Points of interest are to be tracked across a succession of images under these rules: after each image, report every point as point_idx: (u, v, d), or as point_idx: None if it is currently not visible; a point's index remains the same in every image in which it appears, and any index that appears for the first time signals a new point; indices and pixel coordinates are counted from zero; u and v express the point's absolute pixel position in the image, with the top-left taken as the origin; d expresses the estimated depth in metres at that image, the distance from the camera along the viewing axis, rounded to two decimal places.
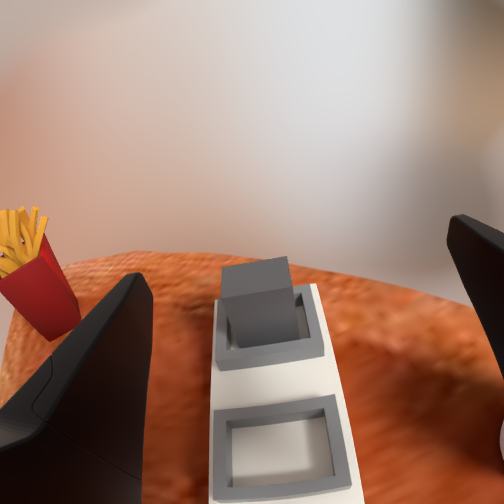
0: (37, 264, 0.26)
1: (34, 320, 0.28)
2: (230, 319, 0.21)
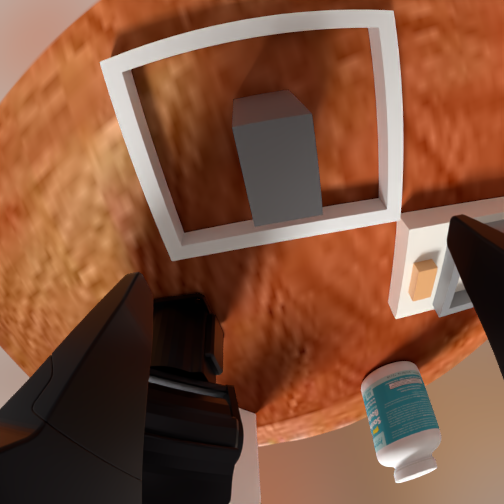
0: None
1: None
2: None
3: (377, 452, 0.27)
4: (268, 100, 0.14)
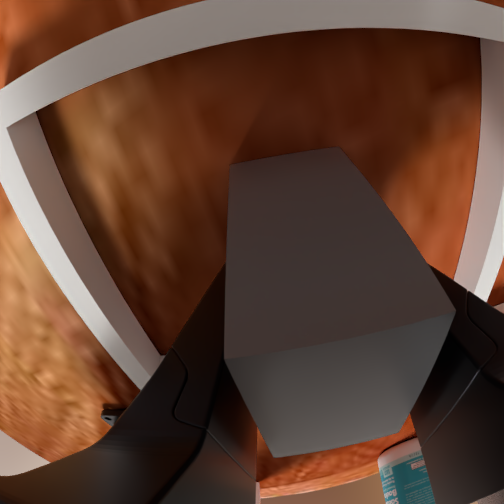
0: None
1: None
2: None
3: None
4: (309, 189, 0.07)
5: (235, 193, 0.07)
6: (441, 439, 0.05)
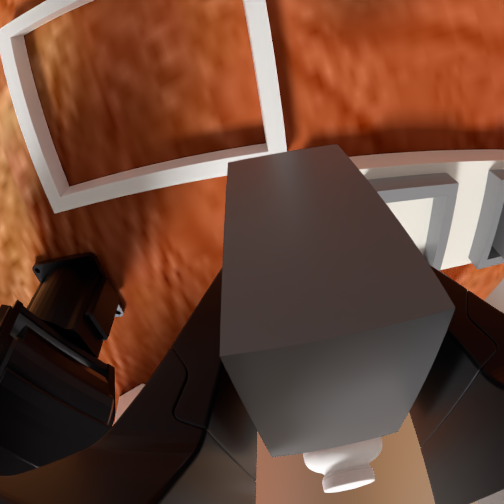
0: None
1: None
2: None
3: (303, 454, 0.25)
4: (306, 186, 0.07)
5: (233, 190, 0.07)
6: (441, 439, 0.05)
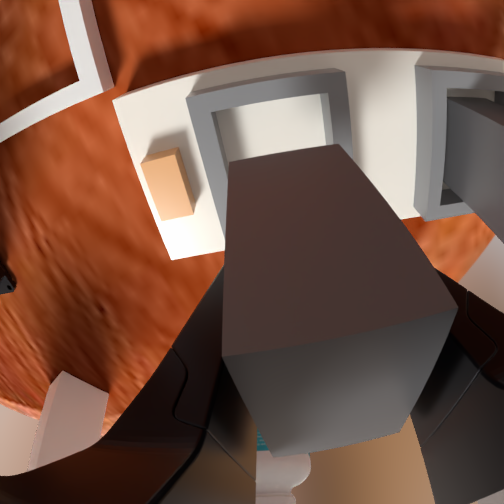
0: None
1: None
2: (491, 123, 0.09)
3: None
4: (308, 185, 0.07)
5: (234, 190, 0.07)
6: (441, 439, 0.05)
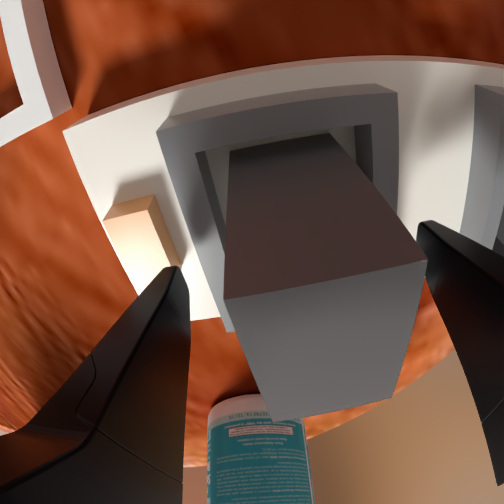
0: None
1: None
2: None
3: None
4: (300, 168, 0.07)
5: (234, 173, 0.08)
6: None
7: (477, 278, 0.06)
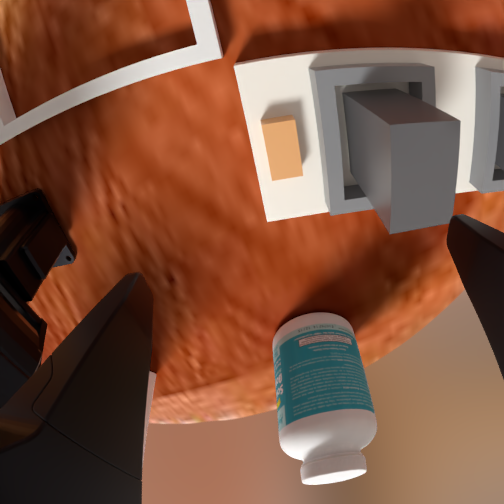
0: None
1: None
2: None
3: (279, 435, 0.21)
4: (390, 98, 0.12)
5: (356, 99, 0.13)
6: None
7: None
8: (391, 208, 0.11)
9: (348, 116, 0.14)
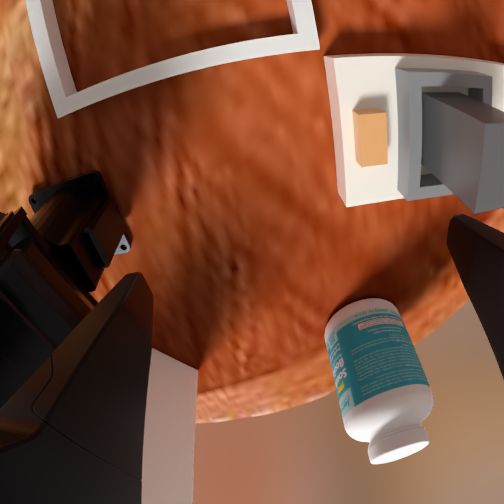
0: None
1: None
2: None
3: (344, 418, 0.22)
4: (464, 101, 0.13)
5: (438, 99, 0.13)
6: None
7: None
8: (478, 191, 0.12)
9: (425, 113, 0.15)
